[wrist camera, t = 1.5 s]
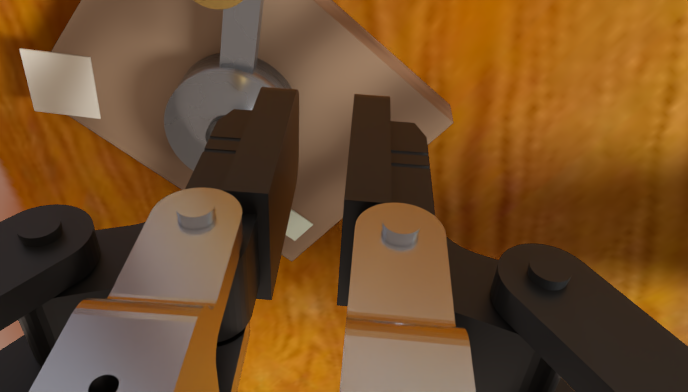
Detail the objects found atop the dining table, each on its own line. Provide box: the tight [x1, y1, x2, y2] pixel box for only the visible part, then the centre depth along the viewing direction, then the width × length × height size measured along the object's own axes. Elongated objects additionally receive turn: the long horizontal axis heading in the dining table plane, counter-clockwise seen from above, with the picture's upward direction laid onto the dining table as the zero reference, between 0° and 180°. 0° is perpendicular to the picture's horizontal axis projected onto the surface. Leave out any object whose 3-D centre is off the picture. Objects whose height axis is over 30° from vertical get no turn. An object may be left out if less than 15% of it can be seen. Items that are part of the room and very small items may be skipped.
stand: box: [19, 0, 453, 261], centre depth 31 cm, size 19×15×3 cm
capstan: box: [164, 0, 292, 171], centre depth 26 cm, size 18×6×8 cm, turn 169°
